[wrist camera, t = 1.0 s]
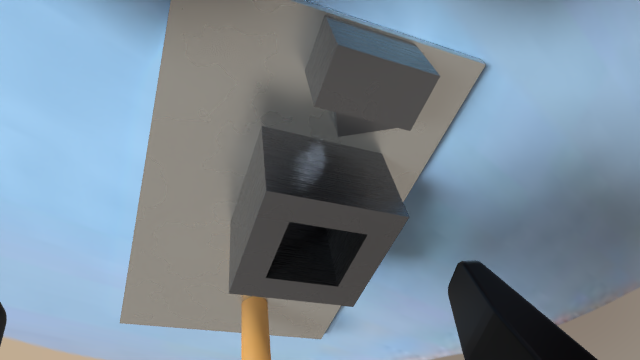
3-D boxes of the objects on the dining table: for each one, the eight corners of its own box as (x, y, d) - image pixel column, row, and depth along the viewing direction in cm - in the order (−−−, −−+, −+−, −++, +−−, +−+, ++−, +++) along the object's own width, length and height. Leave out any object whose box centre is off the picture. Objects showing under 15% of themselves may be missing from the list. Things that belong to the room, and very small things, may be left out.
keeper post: (270, 298, 27) (275, 376, 24) (263, 313, 28) (267, 391, 24) (245, 295, 27) (245, 375, 23) (238, 311, 28) (238, 390, 24)
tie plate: (480, 59, 20) (519, 97, 17) (319, 331, 31) (327, 380, 29) (178, -42, 16) (165, -12, 13) (121, 314, 27) (108, 370, 25)
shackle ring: (381, 153, 22) (409, 217, 18) (337, 239, 25) (353, 306, 21) (261, 125, 20) (266, 190, 16) (230, 222, 23) (228, 293, 20)
